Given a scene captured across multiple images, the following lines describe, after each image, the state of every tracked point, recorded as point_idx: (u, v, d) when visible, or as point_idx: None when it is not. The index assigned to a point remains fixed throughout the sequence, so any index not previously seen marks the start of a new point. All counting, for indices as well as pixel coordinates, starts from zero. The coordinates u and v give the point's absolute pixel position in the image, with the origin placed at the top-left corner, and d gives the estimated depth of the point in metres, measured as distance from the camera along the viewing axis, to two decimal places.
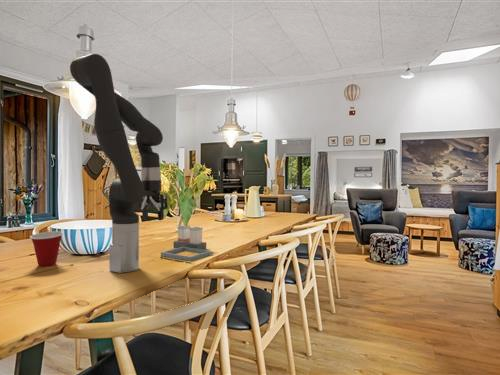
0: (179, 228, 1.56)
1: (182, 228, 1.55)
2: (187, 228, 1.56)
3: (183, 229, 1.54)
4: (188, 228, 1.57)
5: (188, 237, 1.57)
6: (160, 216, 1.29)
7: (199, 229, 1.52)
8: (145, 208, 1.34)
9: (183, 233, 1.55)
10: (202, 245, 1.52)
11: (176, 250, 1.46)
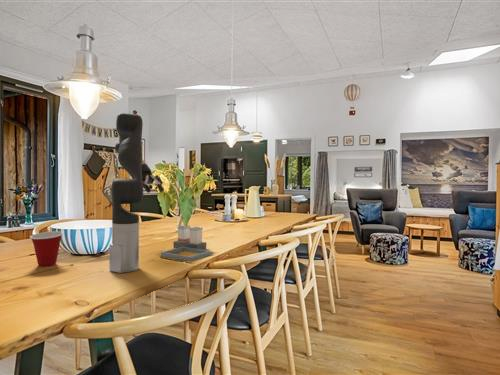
0: (179, 228, 1.56)
1: (182, 228, 1.55)
2: (187, 228, 1.56)
3: (183, 229, 1.54)
4: (188, 228, 1.57)
5: (188, 237, 1.57)
6: (162, 187, 1.71)
7: (199, 229, 1.52)
8: None
9: (183, 233, 1.55)
10: (202, 245, 1.52)
11: (176, 250, 1.46)
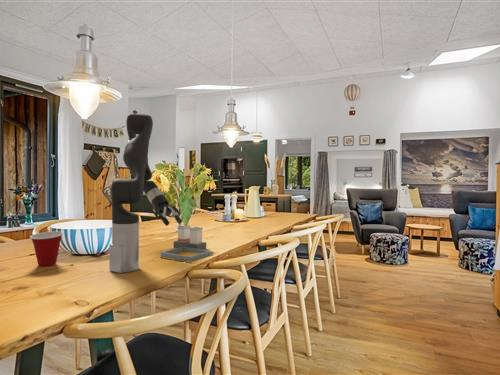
0: (179, 228, 1.56)
1: (182, 228, 1.55)
2: (187, 228, 1.56)
3: (183, 229, 1.54)
4: (188, 228, 1.57)
5: (188, 237, 1.57)
6: (180, 219, 1.64)
7: (199, 229, 1.52)
8: None
9: (183, 233, 1.55)
10: (202, 245, 1.52)
11: (176, 250, 1.46)
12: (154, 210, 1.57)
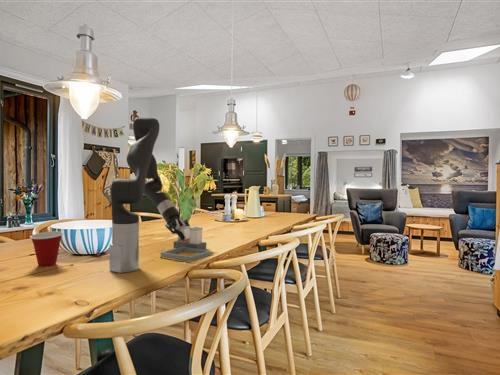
0: (179, 228, 1.56)
1: (182, 228, 1.55)
2: (187, 228, 1.56)
3: (183, 229, 1.54)
4: (188, 228, 1.57)
5: (188, 237, 1.57)
6: None
7: (199, 229, 1.52)
8: None
9: (183, 233, 1.55)
10: (202, 245, 1.52)
11: (176, 250, 1.46)
12: (168, 225, 1.53)
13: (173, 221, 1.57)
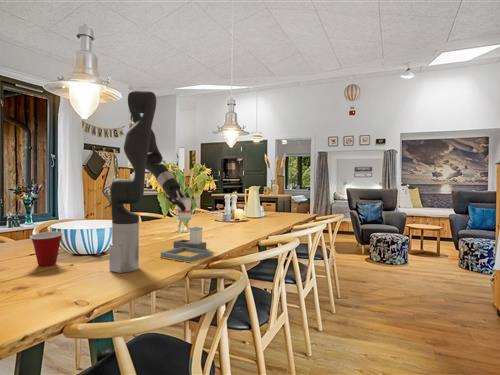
0: (180, 199, 1.50)
1: (183, 199, 1.49)
2: (188, 199, 1.50)
3: (184, 200, 1.49)
4: (189, 199, 1.51)
5: (189, 209, 1.51)
6: (191, 206, 1.53)
7: (199, 229, 1.52)
8: None
9: (184, 204, 1.49)
10: (202, 245, 1.52)
11: (176, 250, 1.46)
12: (168, 196, 1.48)
13: (173, 192, 1.51)
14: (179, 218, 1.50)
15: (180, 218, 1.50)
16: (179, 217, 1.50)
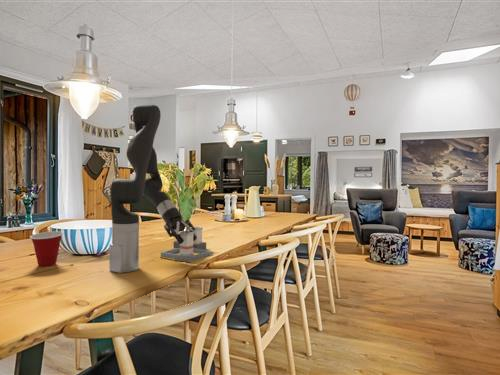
0: (181, 234, 1.40)
1: (184, 234, 1.39)
2: (190, 234, 1.40)
3: (186, 236, 1.39)
4: (191, 234, 1.41)
5: (191, 244, 1.41)
6: None
7: (199, 229, 1.52)
8: None
9: (186, 240, 1.39)
10: (202, 245, 1.52)
11: (176, 250, 1.46)
12: (166, 226, 1.38)
13: (174, 223, 1.41)
14: (181, 254, 1.40)
15: (182, 254, 1.40)
16: (181, 253, 1.40)
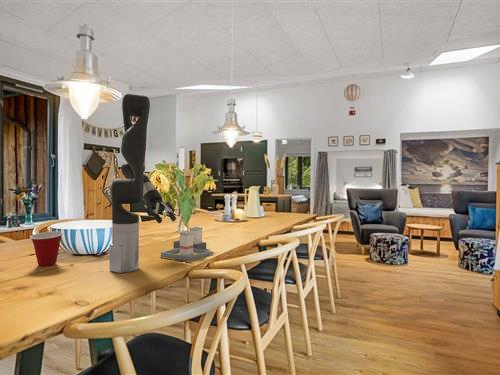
0: (181, 234, 1.40)
1: (184, 234, 1.39)
2: (190, 234, 1.40)
3: (186, 236, 1.39)
4: (191, 234, 1.41)
5: (191, 244, 1.41)
6: (174, 216, 1.51)
7: (199, 229, 1.52)
8: None
9: (186, 240, 1.39)
10: (202, 245, 1.52)
11: (176, 250, 1.46)
12: (146, 206, 1.44)
13: (154, 203, 1.47)
14: (181, 254, 1.40)
15: (182, 254, 1.40)
16: (181, 253, 1.40)
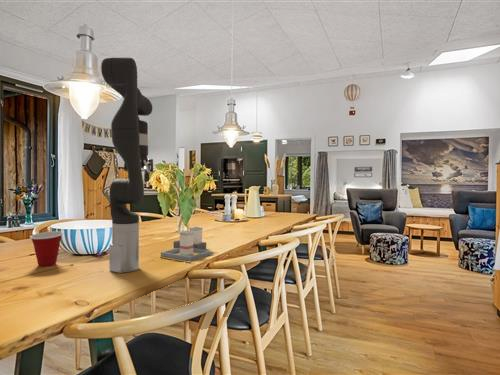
0: (181, 234, 1.40)
1: (184, 234, 1.39)
2: (190, 234, 1.40)
3: (186, 236, 1.39)
4: (191, 234, 1.41)
5: (191, 244, 1.41)
6: (148, 178, 1.50)
7: (199, 229, 1.52)
8: None
9: (186, 240, 1.39)
10: (202, 245, 1.52)
11: (176, 250, 1.46)
12: None
13: None
14: (181, 254, 1.40)
15: (182, 254, 1.40)
16: (181, 253, 1.40)
